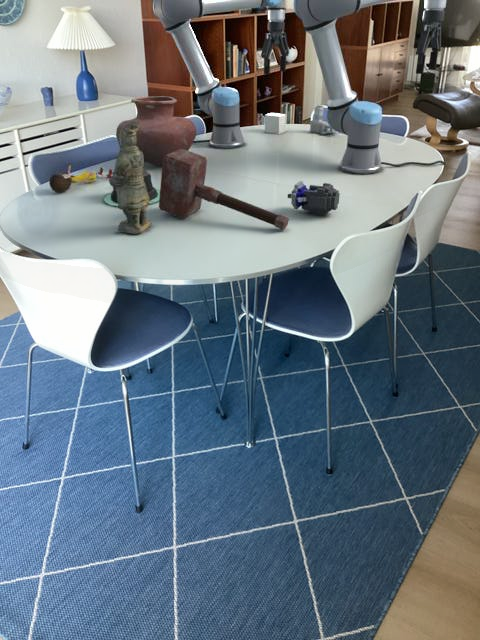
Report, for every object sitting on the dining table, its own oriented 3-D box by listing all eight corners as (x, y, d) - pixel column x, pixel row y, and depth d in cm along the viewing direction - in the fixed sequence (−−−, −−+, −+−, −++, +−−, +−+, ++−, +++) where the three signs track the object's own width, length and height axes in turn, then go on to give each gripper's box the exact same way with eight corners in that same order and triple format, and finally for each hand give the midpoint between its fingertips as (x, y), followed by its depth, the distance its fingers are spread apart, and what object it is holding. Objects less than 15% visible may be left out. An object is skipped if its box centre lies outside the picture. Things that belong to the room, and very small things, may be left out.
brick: (271, 129, 276) (271, 112, 272) (285, 131, 272) (285, 114, 268) (264, 132, 272) (264, 114, 268) (278, 134, 268) (279, 116, 263)
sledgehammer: (299, 190, 156) (179, 147, 167) (285, 200, 148) (161, 154, 160) (286, 244, 166) (174, 200, 177) (272, 256, 158) (156, 209, 170)
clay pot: (204, 155, 234) (201, 91, 222) (186, 175, 209) (181, 105, 196) (136, 153, 239) (129, 91, 227) (109, 172, 214) (100, 104, 201)
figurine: (118, 166, 204) (64, 174, 185) (119, 186, 207) (65, 196, 188) (93, 161, 211) (38, 168, 191) (95, 181, 214) (40, 190, 195)
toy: (295, 178, 172) (342, 184, 166) (295, 205, 177) (340, 211, 171) (285, 186, 166) (333, 192, 160) (284, 213, 170) (331, 220, 164)
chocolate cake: (91, 202, 180) (113, 186, 197) (142, 231, 182) (160, 212, 199) (107, 162, 172) (129, 148, 190) (160, 192, 174) (177, 176, 192)
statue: (131, 220, 168) (117, 116, 152) (158, 224, 164) (147, 118, 149) (109, 233, 159) (93, 124, 144) (138, 237, 156) (124, 126, 140)
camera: (318, 104, 267) (345, 108, 259) (317, 129, 274) (342, 134, 265) (308, 106, 262) (334, 110, 253) (306, 132, 268) (332, 137, 259)
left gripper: (283, 19, 258) (282, 69, 269) (253, 21, 241) (253, 74, 251) (297, 20, 254) (295, 70, 265) (267, 22, 237) (266, 75, 247)
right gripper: (435, 8, 216) (427, 67, 227) (412, 10, 199) (404, 74, 209) (455, 8, 212) (446, 68, 223) (432, 10, 195) (423, 75, 206)
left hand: (275, 72), depth 258 cm, fingers open, 13 cm apart
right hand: (425, 71), depth 216 cm, fingers open, 13 cm apart
